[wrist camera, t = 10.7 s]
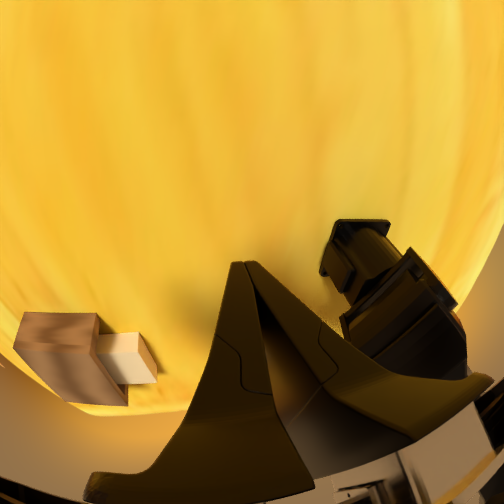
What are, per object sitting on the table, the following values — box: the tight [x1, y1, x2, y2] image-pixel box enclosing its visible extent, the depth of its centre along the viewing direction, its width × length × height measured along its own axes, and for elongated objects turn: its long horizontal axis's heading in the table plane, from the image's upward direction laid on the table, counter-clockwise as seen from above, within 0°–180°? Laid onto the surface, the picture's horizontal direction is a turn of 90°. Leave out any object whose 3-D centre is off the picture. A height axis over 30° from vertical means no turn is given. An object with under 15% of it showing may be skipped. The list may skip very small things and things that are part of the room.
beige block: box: [96, 332, 157, 384], centre depth 28 cm, size 10×8×3 cm
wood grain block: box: [13, 312, 128, 406], centre depth 25 cm, size 10×14×5 cm
